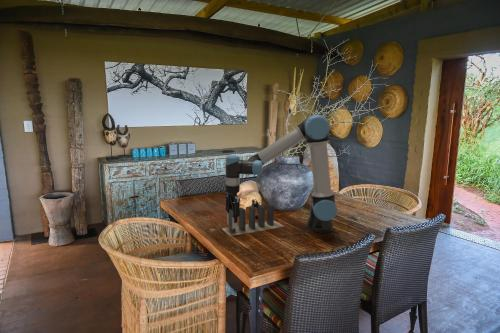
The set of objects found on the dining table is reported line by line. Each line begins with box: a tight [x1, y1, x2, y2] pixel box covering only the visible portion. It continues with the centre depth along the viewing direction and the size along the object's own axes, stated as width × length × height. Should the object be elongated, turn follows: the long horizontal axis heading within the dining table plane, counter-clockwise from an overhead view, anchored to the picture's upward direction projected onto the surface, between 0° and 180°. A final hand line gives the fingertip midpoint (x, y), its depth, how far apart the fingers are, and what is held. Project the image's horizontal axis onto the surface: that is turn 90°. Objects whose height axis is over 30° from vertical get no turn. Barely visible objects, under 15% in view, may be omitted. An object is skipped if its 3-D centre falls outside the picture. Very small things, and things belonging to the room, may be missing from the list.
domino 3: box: [248, 205, 257, 229], centre depth 181 cm, size 2×5×12 cm, turn 27°
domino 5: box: [266, 202, 275, 226], centre depth 186 cm, size 2×5×12 cm, turn 27°
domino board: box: [221, 220, 285, 237], centre depth 182 cm, size 34×12×1 cm, turn 117°
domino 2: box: [238, 206, 247, 231], centre depth 178 cm, size 2×5×12 cm, turn 27°
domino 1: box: [228, 208, 236, 233], centre depth 175 cm, size 2×5×12 cm, turn 27°
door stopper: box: [246, 199, 260, 220], centre depth 199 cm, size 9×6×12 cm, turn 101°
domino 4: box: [257, 204, 266, 228], centre depth 184 cm, size 2×5×12 cm, turn 27°
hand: (232, 226), depth 176 cm, fingers open, 6 cm apart
